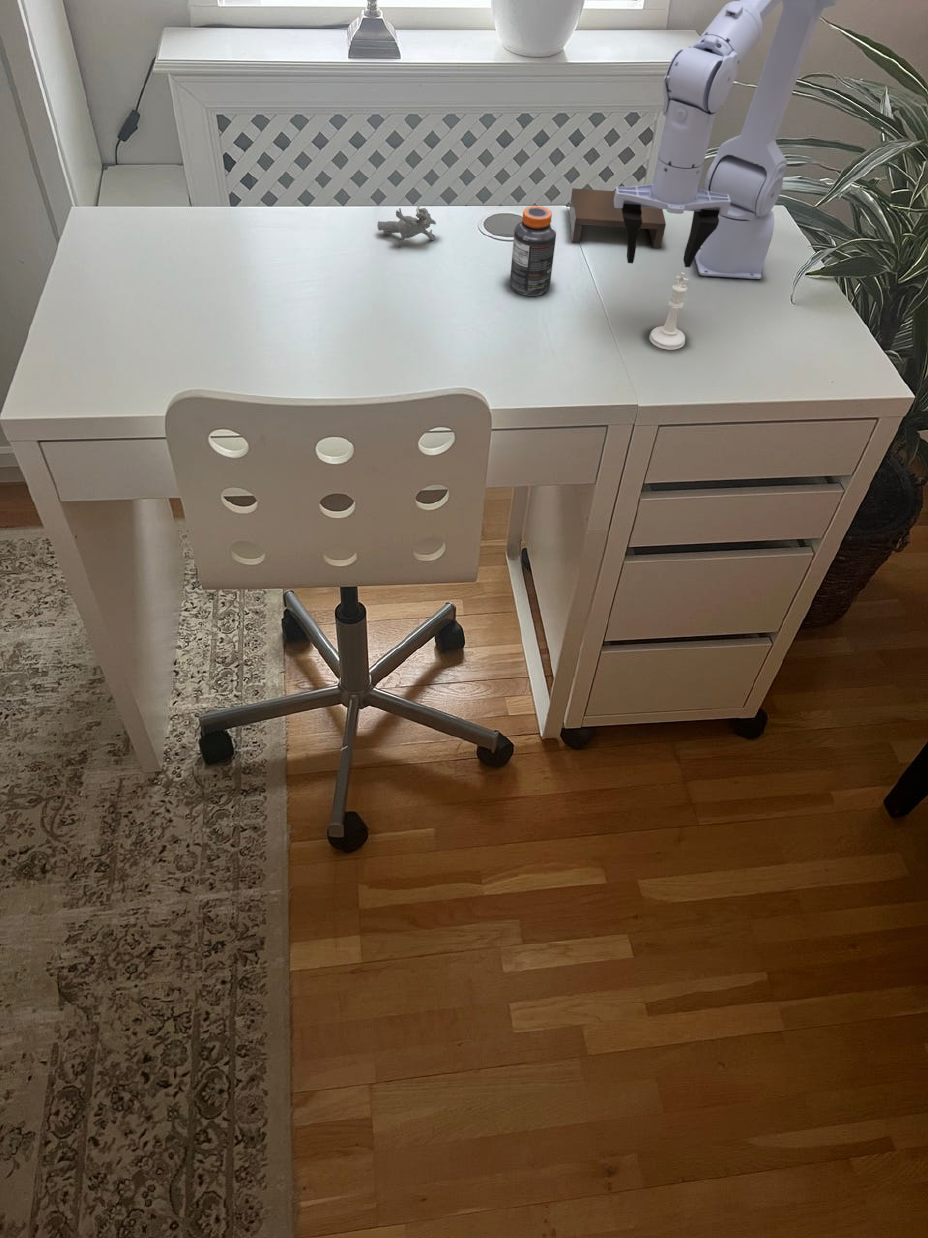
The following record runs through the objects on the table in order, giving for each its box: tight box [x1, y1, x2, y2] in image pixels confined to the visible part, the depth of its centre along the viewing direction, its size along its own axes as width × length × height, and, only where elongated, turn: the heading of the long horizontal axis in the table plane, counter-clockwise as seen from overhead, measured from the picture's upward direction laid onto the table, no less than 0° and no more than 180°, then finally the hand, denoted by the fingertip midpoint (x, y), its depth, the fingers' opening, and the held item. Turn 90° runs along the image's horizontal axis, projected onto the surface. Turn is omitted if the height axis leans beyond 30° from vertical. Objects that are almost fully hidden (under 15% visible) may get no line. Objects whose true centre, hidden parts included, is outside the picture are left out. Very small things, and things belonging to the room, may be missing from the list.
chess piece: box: [648, 272, 689, 351], centre depth 130 cm, size 5×5×10 cm
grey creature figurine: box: [377, 203, 437, 248], centre depth 146 cm, size 10×6×9 cm
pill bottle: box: [509, 205, 557, 297], centre depth 137 cm, size 6×6×11 cm
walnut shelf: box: [568, 188, 667, 249], centre depth 153 cm, size 14×10×4 cm
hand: (658, 261), depth 129 cm, fingers open, 7 cm apart
